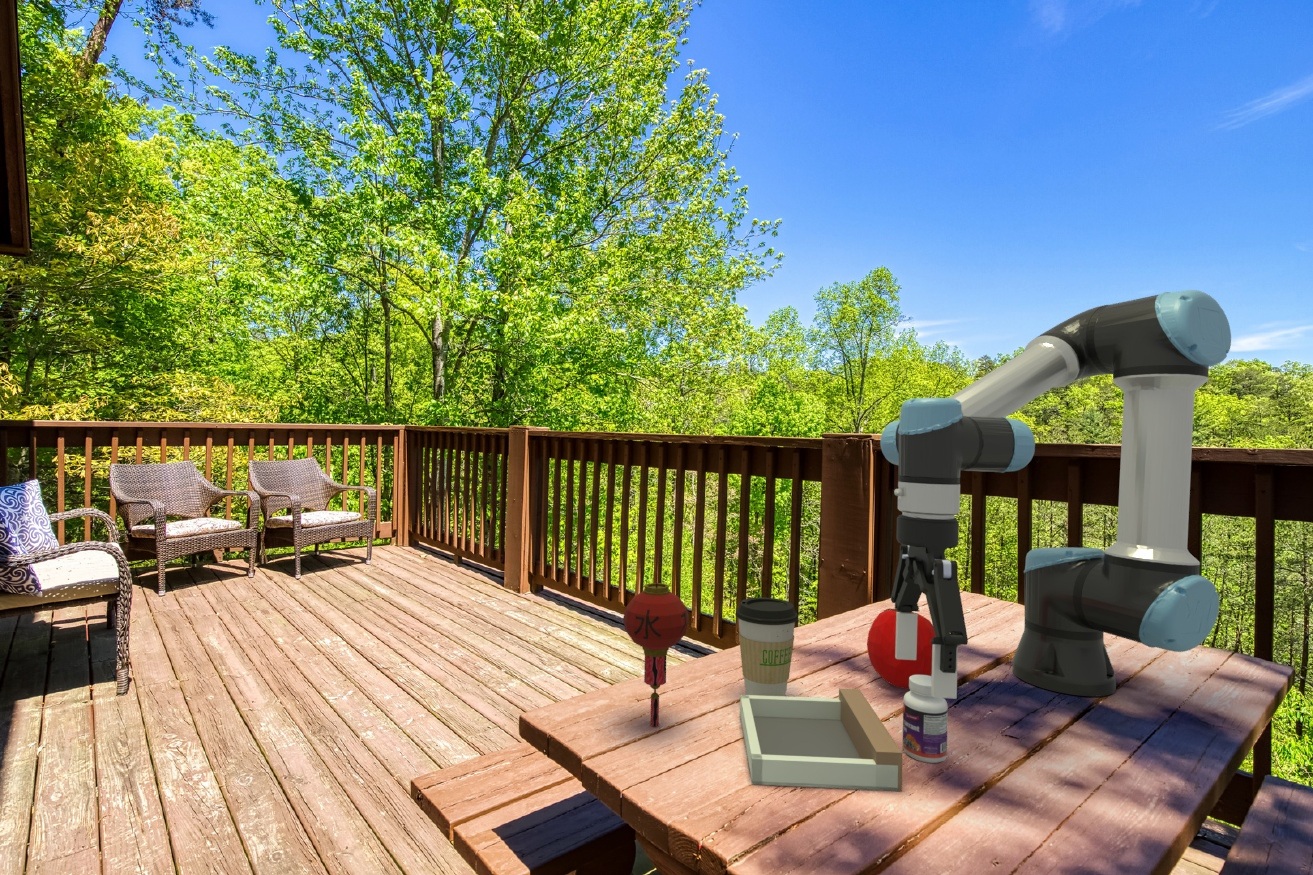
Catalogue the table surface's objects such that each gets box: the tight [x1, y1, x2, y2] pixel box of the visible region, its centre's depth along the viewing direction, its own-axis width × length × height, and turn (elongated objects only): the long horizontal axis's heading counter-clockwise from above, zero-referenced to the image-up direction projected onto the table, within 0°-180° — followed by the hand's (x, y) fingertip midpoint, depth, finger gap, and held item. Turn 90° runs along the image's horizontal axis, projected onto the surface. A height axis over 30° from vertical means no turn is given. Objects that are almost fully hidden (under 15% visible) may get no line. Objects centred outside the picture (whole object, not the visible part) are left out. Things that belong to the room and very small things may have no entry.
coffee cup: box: [735, 596, 799, 697], centre depth 100 cm, size 10×10×15 cm
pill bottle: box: [902, 675, 949, 764], centre depth 83 cm, size 5×5×10 cm
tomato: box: [866, 605, 935, 690], centre depth 106 cm, size 12×12×13 cm
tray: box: [739, 687, 903, 792], centre depth 84 cm, size 18×19×4 cm
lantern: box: [622, 514, 690, 728], centre depth 90 cm, size 10×10×30 cm
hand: (923, 676), depth 83 cm, fingers open, 13 cm apart
